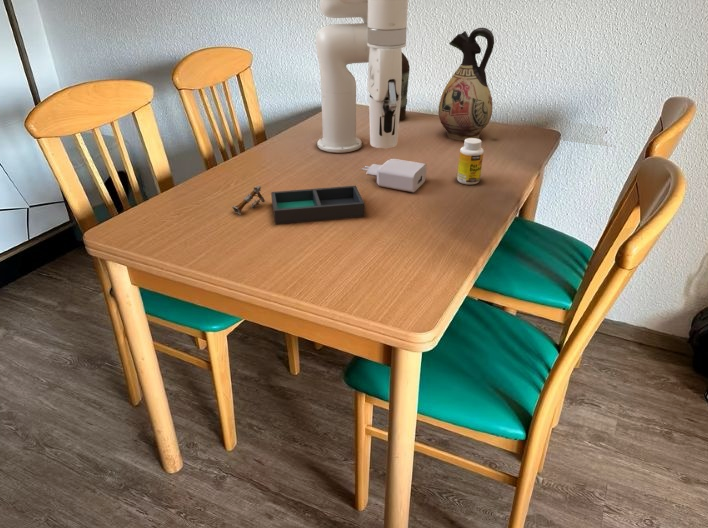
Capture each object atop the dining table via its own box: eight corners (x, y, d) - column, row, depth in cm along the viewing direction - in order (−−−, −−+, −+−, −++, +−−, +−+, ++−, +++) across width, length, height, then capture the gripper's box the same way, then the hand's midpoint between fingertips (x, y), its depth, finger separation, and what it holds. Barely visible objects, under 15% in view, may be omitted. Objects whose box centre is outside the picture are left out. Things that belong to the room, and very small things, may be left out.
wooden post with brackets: (269, 199, 131) (261, 184, 127) (245, 222, 128) (236, 208, 125) (264, 197, 132) (256, 182, 128) (240, 220, 129) (231, 205, 126)
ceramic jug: (427, 139, 169) (435, 27, 152) (449, 125, 179) (458, 20, 163) (482, 149, 161) (497, 33, 144) (501, 134, 172) (516, 24, 155)
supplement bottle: (467, 187, 138) (472, 145, 133) (452, 180, 142) (456, 139, 137) (484, 182, 141) (489, 141, 135) (468, 175, 145) (473, 135, 139)
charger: (370, 171, 147) (425, 180, 142) (355, 183, 141) (412, 194, 135) (371, 153, 145) (427, 162, 139) (355, 165, 138) (413, 175, 132)
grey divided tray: (272, 204, 130) (271, 191, 129) (355, 198, 133) (355, 185, 131) (275, 224, 122) (274, 210, 120) (364, 216, 125) (364, 203, 123)
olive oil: (368, 118, 186) (369, 34, 172) (386, 111, 193) (388, 30, 179) (395, 124, 180) (398, 38, 167) (413, 116, 187) (417, 33, 174)
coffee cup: (403, 147, 120) (405, 99, 115) (372, 150, 119) (373, 101, 113) (394, 137, 126) (396, 90, 120) (364, 139, 124) (365, 92, 119)
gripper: (358, 30, 117) (358, 120, 127) (378, 46, 103) (375, 146, 113) (394, 29, 118) (391, 118, 128) (418, 44, 104) (412, 143, 115)
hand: (383, 130), depth 121 cm, fingers closed on coffee cup, 4 cm apart
